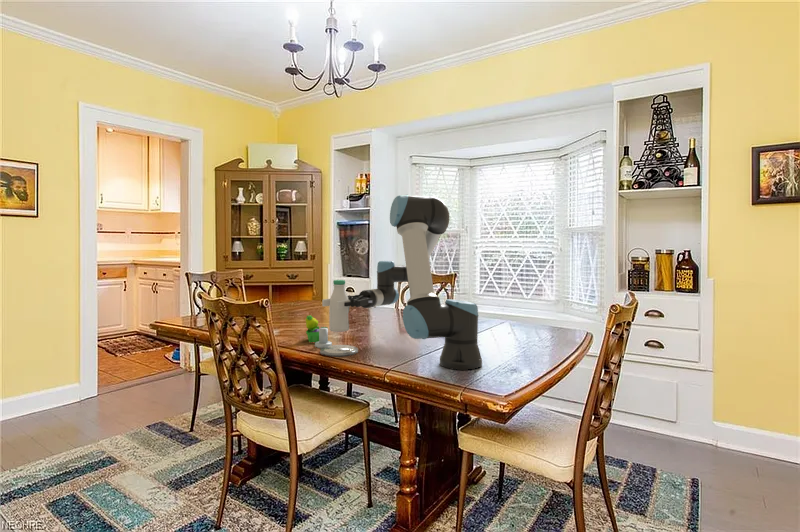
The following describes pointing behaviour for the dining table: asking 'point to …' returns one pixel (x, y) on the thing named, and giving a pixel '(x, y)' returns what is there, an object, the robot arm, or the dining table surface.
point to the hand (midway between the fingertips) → (330, 304)
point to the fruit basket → (312, 329)
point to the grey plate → (339, 350)
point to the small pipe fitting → (323, 338)
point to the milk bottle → (338, 316)
